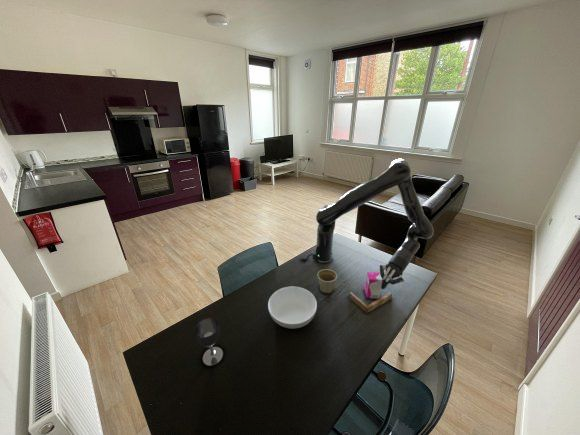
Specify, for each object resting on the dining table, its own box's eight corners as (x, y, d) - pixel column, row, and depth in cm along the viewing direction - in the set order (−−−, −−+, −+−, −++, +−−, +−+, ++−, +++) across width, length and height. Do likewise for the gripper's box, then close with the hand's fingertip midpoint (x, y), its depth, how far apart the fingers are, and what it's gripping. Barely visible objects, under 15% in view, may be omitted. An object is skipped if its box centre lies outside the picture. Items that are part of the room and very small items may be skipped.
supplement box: (376, 290, 117) (379, 272, 112) (379, 299, 112) (383, 280, 107) (364, 290, 118) (367, 271, 113) (366, 298, 113) (369, 279, 108)
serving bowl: (258, 316, 104) (257, 304, 101) (291, 291, 117) (291, 280, 115) (294, 345, 91) (294, 333, 88) (326, 313, 105) (327, 302, 102)
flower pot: (314, 292, 116) (315, 278, 113) (319, 280, 124) (320, 267, 121) (333, 298, 113) (334, 283, 109) (337, 285, 121) (338, 271, 117)
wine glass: (212, 371, 82) (205, 341, 76) (196, 359, 86) (189, 330, 80) (228, 352, 88) (223, 323, 82) (213, 342, 92) (208, 314, 86)
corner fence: (366, 313, 105) (367, 308, 103) (349, 298, 113) (349, 293, 112) (391, 298, 112) (392, 294, 111) (373, 285, 121) (374, 280, 120)
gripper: (387, 249, 116) (366, 278, 116) (412, 262, 106) (390, 294, 105) (392, 254, 121) (372, 282, 120) (416, 268, 111) (395, 298, 110)
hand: (380, 288), depth 113 cm, fingers closed
